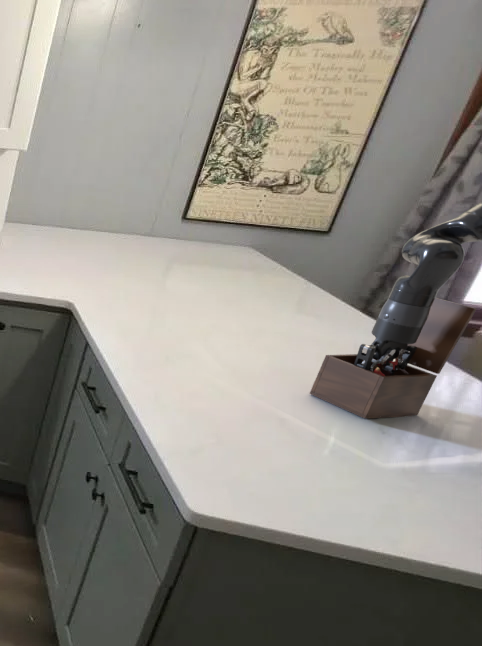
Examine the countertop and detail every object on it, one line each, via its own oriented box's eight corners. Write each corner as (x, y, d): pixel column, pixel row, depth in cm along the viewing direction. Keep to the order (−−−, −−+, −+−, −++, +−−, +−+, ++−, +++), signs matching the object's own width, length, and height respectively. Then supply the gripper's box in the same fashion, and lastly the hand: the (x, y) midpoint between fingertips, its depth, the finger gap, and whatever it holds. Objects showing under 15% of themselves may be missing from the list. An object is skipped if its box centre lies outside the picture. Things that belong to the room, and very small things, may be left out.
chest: (365, 418, 148) (384, 377, 144) (309, 393, 160) (325, 354, 156) (416, 416, 151) (437, 375, 147) (358, 391, 162) (375, 353, 159)
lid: (474, 308, 141) (489, 309, 142) (408, 290, 153) (422, 292, 154) (436, 373, 147) (451, 374, 148) (375, 351, 158) (389, 352, 159)
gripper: (395, 326, 143) (365, 392, 149) (444, 325, 145) (412, 390, 151) (358, 314, 150) (330, 378, 155) (406, 314, 152) (377, 376, 158)
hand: (371, 384), depth 153 cm, fingers closed on onion, 6 cm apart
